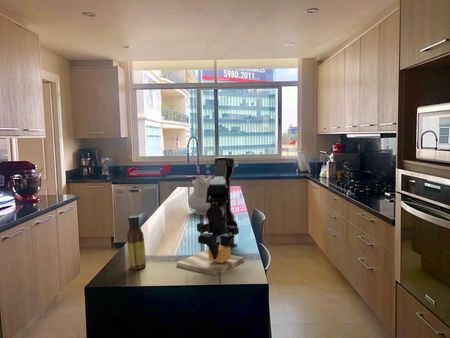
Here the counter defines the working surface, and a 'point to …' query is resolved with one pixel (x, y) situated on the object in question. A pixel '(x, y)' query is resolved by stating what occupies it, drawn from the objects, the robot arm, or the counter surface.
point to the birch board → (208, 263)
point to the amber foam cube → (221, 254)
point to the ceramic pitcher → (200, 195)
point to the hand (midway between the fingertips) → (219, 256)
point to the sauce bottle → (135, 244)
